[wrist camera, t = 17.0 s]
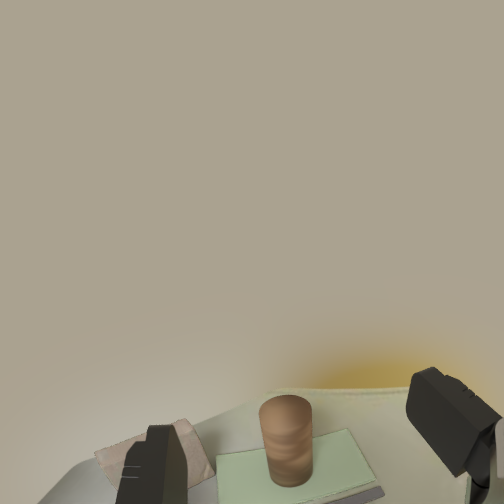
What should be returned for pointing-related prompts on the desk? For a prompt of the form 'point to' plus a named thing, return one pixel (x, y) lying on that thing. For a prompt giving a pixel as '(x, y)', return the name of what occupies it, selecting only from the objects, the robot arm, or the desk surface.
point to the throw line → (362, 497)
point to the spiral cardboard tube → (288, 439)
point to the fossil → (115, 455)
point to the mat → (286, 499)
